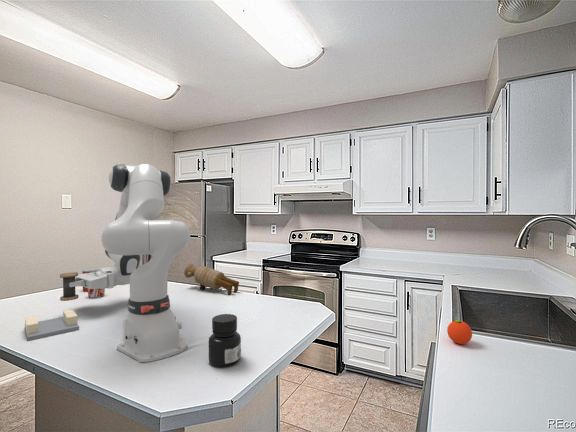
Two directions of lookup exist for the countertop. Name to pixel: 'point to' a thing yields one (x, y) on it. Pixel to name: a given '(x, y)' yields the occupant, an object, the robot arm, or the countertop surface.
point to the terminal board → (51, 325)
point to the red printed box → (88, 272)
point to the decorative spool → (211, 278)
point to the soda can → (95, 292)
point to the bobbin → (68, 291)
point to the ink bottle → (224, 341)
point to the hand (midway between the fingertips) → (66, 284)
